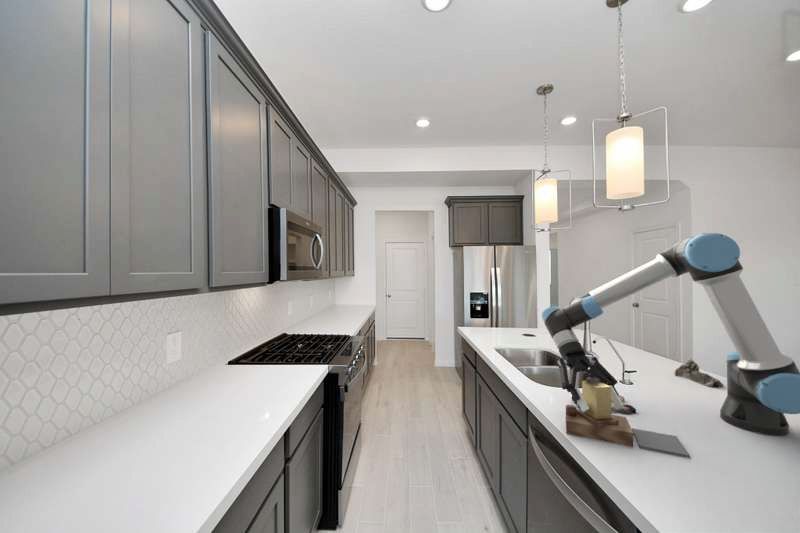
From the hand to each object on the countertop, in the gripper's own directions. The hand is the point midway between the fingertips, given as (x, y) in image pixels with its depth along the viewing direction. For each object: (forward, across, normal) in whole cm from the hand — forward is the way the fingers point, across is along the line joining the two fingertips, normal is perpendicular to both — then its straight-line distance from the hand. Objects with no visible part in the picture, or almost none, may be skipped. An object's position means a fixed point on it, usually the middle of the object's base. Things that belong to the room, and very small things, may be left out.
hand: (603, 409), depth 98 cm
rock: (-20, -80, -32) cm, 89 cm away
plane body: (+4, 0, -8) cm, 9 cm away
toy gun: (-8, -17, -21) cm, 28 cm away
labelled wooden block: (+1, 0, -5) cm, 5 cm away
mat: (+10, -13, -2) cm, 16 cm away
